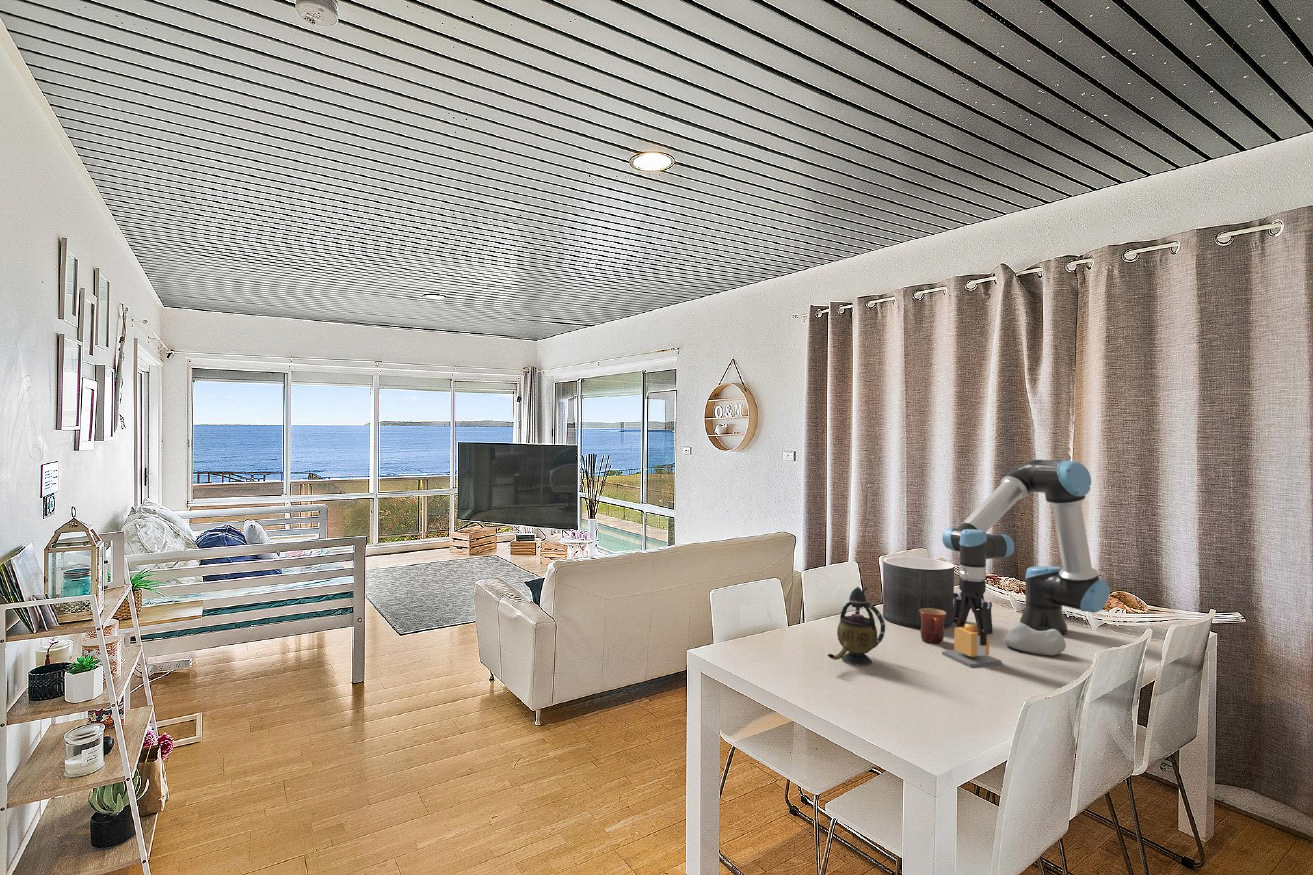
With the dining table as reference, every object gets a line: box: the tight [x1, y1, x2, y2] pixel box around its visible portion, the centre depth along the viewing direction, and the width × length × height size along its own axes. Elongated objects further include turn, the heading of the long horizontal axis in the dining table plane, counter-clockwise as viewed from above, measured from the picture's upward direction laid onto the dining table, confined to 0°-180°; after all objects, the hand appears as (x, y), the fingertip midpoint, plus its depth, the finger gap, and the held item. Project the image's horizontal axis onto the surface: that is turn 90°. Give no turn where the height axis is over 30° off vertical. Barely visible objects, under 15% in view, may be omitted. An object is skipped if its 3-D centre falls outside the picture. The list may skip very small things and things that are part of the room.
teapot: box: [827, 586, 886, 667], centre depth 198 cm, size 12×25×23 cm, turn 135°
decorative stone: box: [1003, 622, 1067, 656], centre depth 214 cm, size 17×10×10 cm
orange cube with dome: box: [953, 622, 990, 657], centre depth 204 cm, size 7×7×9 cm
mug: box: [919, 608, 946, 645], centre depth 221 cm, size 12×9×10 cm
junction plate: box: [941, 649, 1003, 668], centre depth 204 cm, size 12×12×6 cm
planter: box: [882, 556, 955, 629], centre depth 249 cm, size 25×25×22 cm
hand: (971, 650), depth 204 cm, fingers closed on orange cube with dome, 7 cm apart
